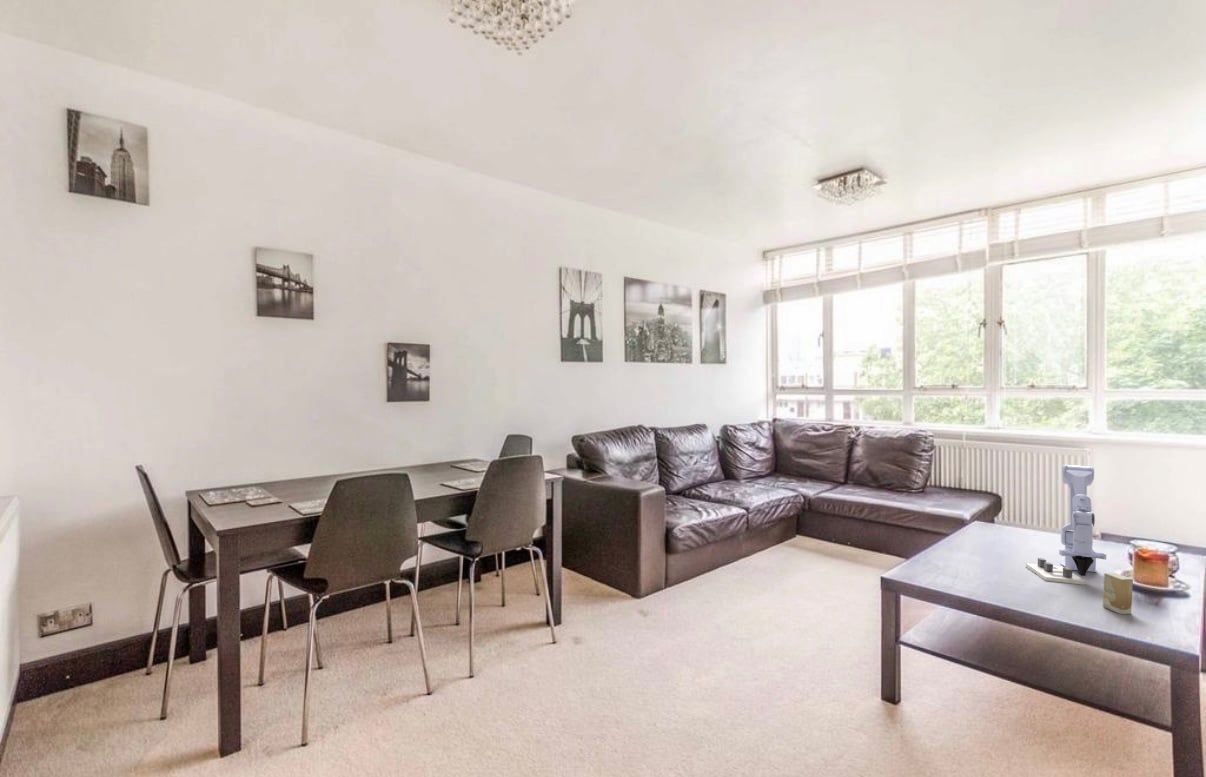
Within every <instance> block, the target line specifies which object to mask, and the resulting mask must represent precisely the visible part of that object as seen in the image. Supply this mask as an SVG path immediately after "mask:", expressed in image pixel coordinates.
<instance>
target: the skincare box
mask: <svg viewBox="0 0 1206 777" xmlns="http://www.w3.org/2000/svg"><path fill="white" fill-rule="evenodd" d="M1133 584H1134V579H1133V578H1130V577H1127V576H1125V575H1122V574H1119V573H1116V572H1104V578H1103V595H1102V607H1103V608H1106V609H1108V610H1110V611H1112V612H1115V613H1117V614H1119V615H1131V614H1132V608H1133V607H1132V603H1133V587H1134V585H1133Z"/></svg>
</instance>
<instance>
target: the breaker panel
mask: <svg viewBox="0 0 1206 777" xmlns="http://www.w3.org/2000/svg"><path fill="white" fill-rule="evenodd" d="M1025 567H1026V568H1027V570H1028V569H1029V570H1030V571H1031V572H1032V573H1033V574H1035V573H1036V575H1037V576H1038V577H1040V578H1041V579H1042V578H1043V579H1042V580H1044V581H1046V582H1056V583H1066V584H1077V585H1086V580H1085V579H1083V578H1081V577H1080V576H1079V575H1077V574H1075V573H1074V572H1072V578H1070V577H1065V576H1064V575H1063V568H1065V566H1062V565H1061V566H1058V565H1054V564H1053V563H1051V562H1047V560H1046V559H1045V558H1040V557H1037V563H1025Z"/></svg>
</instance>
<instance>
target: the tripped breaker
mask: <svg viewBox="0 0 1206 777" xmlns="http://www.w3.org/2000/svg"><path fill="white" fill-rule="evenodd" d="M1072 573H1073V570H1071V569H1070V568H1066V567H1064V568H1063V575H1064V576H1065V577H1070V578H1072Z"/></svg>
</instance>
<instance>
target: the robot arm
mask: <svg viewBox="0 0 1206 777" xmlns="http://www.w3.org/2000/svg"><path fill="white" fill-rule="evenodd" d="M1061 476H1062V482H1063V484H1066V485H1067V486H1068V489H1069V523H1067V524H1065V525H1063V526H1062V527H1061V532H1060V541H1061V542H1060V543H1061V544H1062V545H1064V546H1065V547H1064V549H1059V550H1058V551H1059V552H1058V554H1059V555H1060V556H1061V557H1064V562H1060V563H1059V564H1060V565H1061V566H1062V567H1064V568H1070V569H1071V570H1072V571H1077V572H1078V576H1081V577H1086V575H1087V573H1088V572H1093V573H1097V572H1098V571H1097V570H1096V568H1097V559H1098V560H1099V559H1100V560H1107V554H1105V553H1104V552H1095V550H1094V549H1093V540H1094V539H1093V535H1094V532H1093V531H1094V530H1093V528H1094V527H1095V523H1096V517H1095V513H1094V510H1093V506H1092V500H1091V497H1089V496H1087V493H1088V492H1087V488H1088V487H1089V486H1092V484H1093V481H1094V480H1095V468H1094V467H1093V466H1091V465H1090V466H1088V465H1087V466H1086V465H1071V464H1066V463H1065V464H1063V465H1062V475H1061Z"/></svg>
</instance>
